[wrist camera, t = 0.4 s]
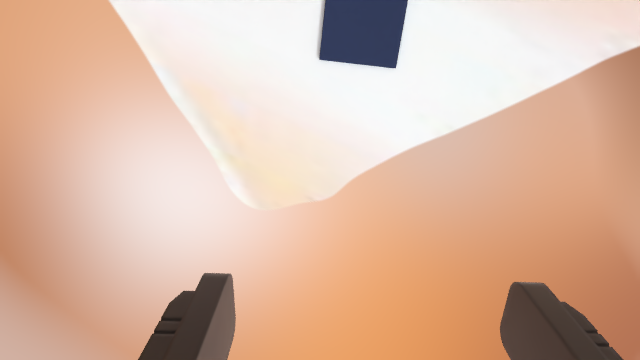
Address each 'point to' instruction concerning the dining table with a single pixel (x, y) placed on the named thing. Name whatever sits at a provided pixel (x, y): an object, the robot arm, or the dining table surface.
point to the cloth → (363, 31)
